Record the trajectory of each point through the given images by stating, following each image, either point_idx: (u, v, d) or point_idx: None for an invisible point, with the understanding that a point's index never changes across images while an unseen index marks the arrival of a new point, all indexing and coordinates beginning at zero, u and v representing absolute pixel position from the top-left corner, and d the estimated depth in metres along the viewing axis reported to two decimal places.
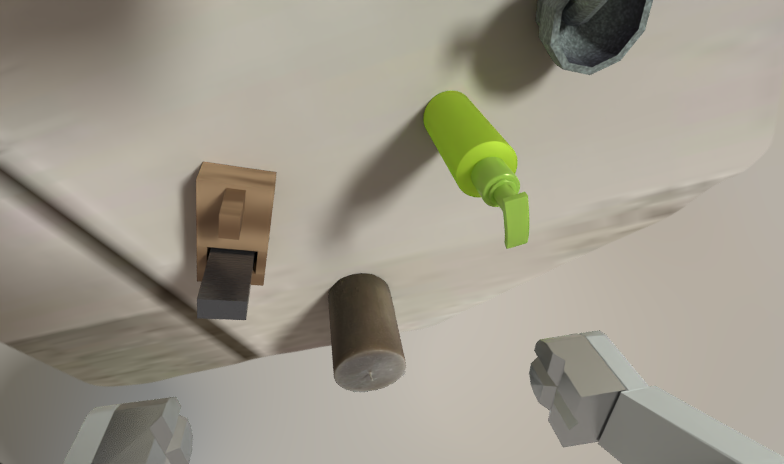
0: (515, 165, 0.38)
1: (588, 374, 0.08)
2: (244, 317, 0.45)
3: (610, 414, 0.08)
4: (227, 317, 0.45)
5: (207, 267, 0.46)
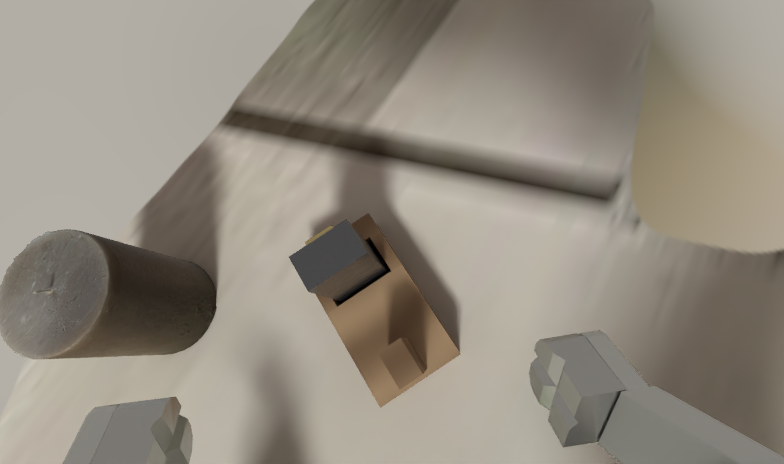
0: None
1: (588, 374, 0.08)
2: (293, 260, 0.29)
3: (611, 414, 0.08)
4: (313, 246, 0.30)
5: (377, 265, 0.33)
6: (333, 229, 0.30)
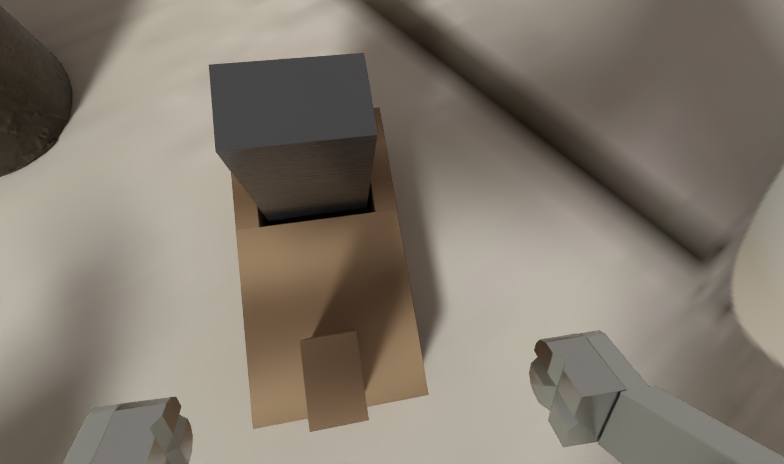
0: None
1: (588, 374, 0.08)
2: (215, 76, 0.13)
3: (611, 414, 0.08)
4: (271, 69, 0.13)
5: (365, 186, 0.18)
6: (329, 58, 0.13)
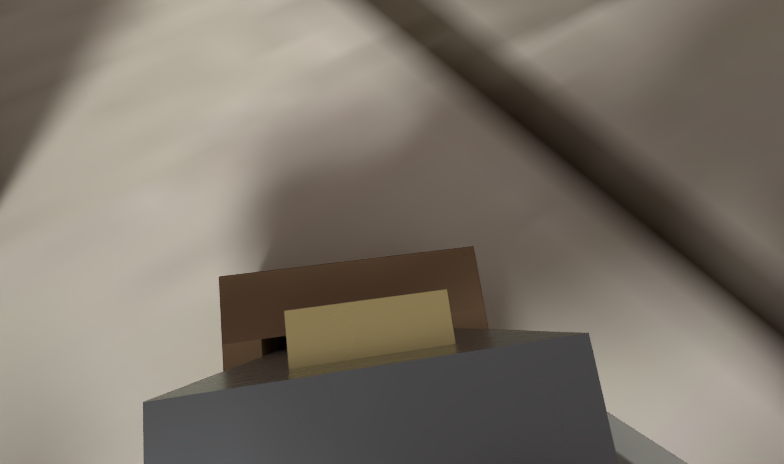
0: None
1: None
2: (161, 444, 0.04)
3: None
4: (332, 406, 0.04)
5: None
6: (496, 359, 0.05)
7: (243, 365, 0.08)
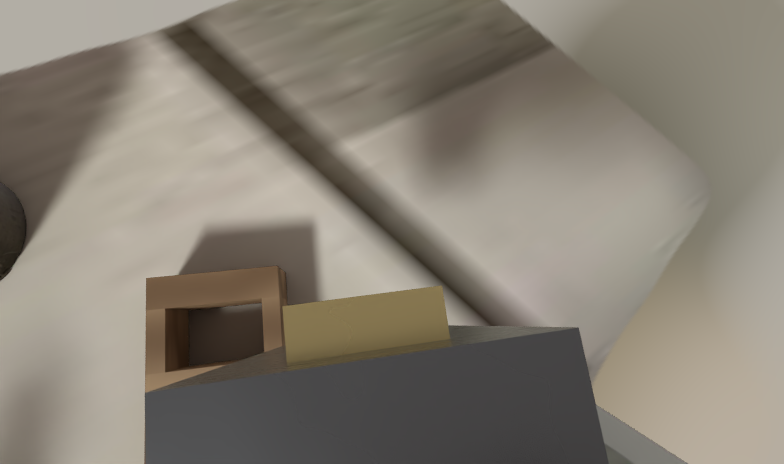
0: None
1: None
2: (163, 434, 0.04)
3: None
4: (328, 397, 0.05)
5: None
6: (488, 352, 0.05)
7: (242, 361, 0.08)
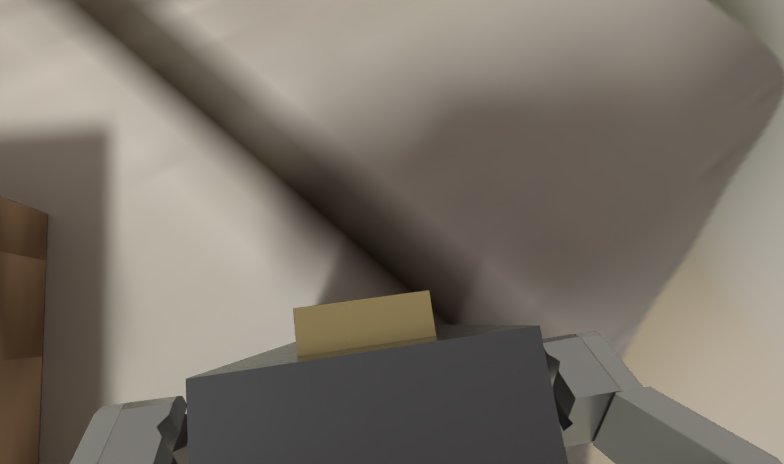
0: None
1: (583, 375, 0.08)
2: (201, 411, 0.05)
3: (606, 415, 0.08)
4: (333, 382, 0.06)
5: None
6: (464, 346, 0.06)
7: (256, 356, 0.09)
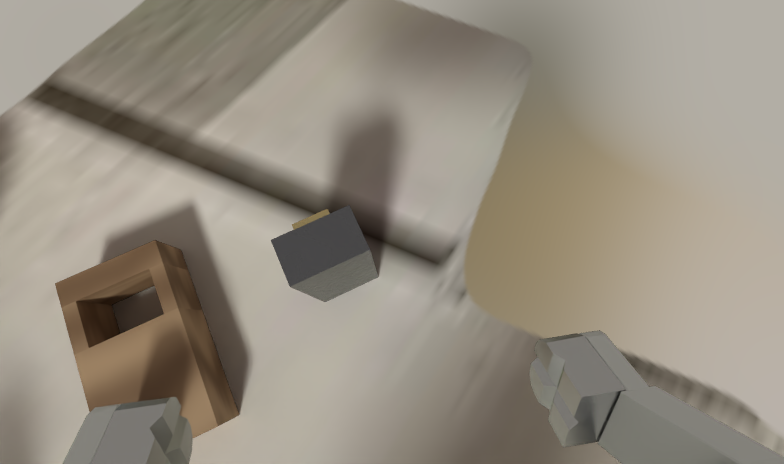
0: None
1: (588, 374, 0.08)
2: (276, 245, 0.24)
3: (611, 414, 0.08)
4: (303, 231, 0.24)
5: (371, 264, 0.28)
6: (331, 215, 0.24)
7: None
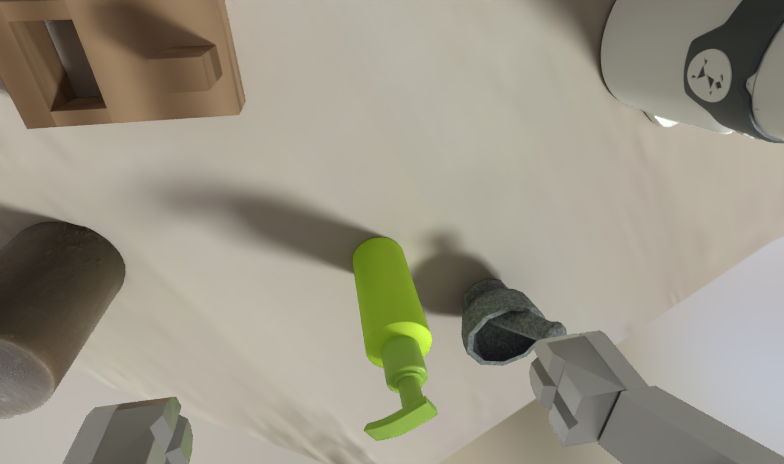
0: None
1: (588, 374, 0.08)
2: None
3: (611, 413, 0.08)
4: None
5: None
6: None
7: None
